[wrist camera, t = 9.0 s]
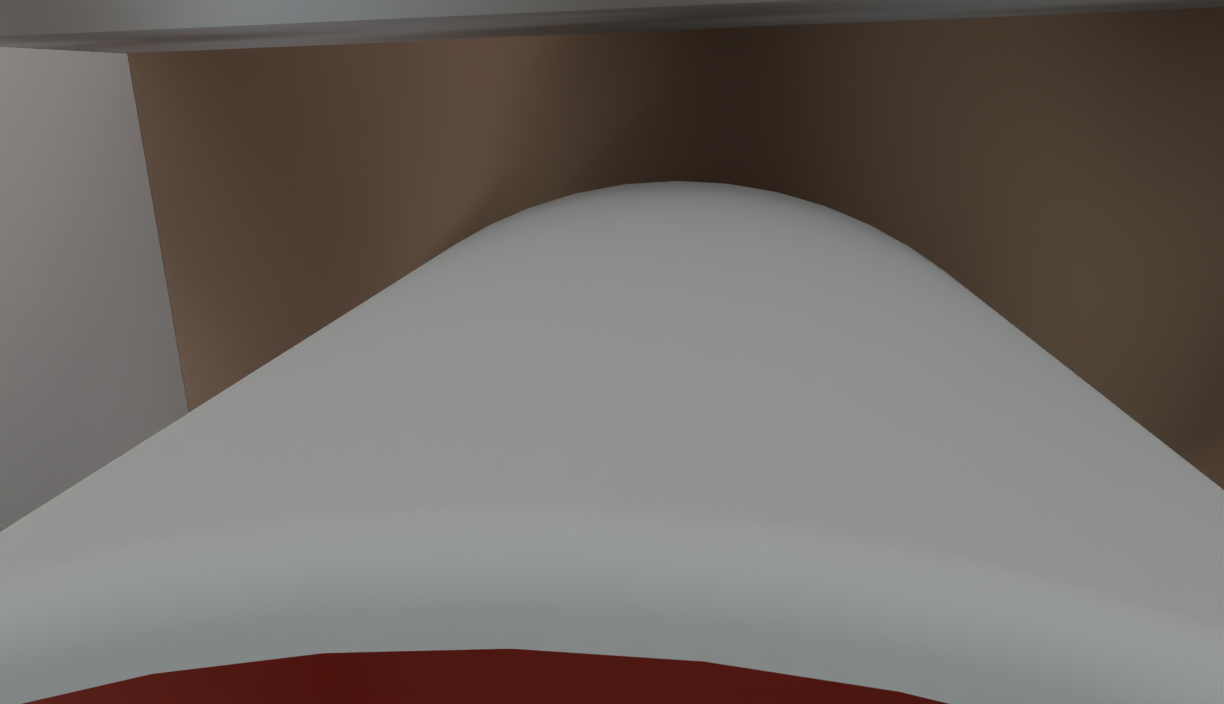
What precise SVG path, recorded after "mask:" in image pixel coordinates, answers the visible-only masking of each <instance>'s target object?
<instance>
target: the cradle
mask: <svg viewBox="0 0 1224 704" xmlns="http://www.w3.org/2000/svg"><path fill="white" fill-rule="evenodd" d="M0 47H16V48H35V49H54V50H73V51H92V52H111V53H127V55H128V61H129V67H130V72H131V78H132V84H133V90H134V96H135V101H136V107H137V113H138V119H139V125H140V131H141V136H142V142H143V148H144V154H145V160H146V165H147V171H148V177H149V183H150V189H151V195H152V200H153V206H154V212H155V218H156V224H157V229H158V235H159V241H160V247H161V253H162V259H163V264H164V270H165V276H166V282H167V288H168V293H169V299H170V305H171V311H172V317H173V323H174V328H175V334H176V340H177V346H178V352H179V357H180V363H181V369H182V375H183V381H184V387H185V392H186V398H187V404H188V410H189V412H191V411H192V410H194V409H196V408H197V407H199V406H200V405H202V404H203V403H205V402H207V401H208V400H210V399H211V398H213V397H215V396H216V395H218V394H219V393H221V392H222V391H224V390H226V389H227V388H229V387H230V386H232V385H234V384H235V383H237V382H238V381H240V380H241V379H243V378H245V377H246V376H248V375H249V374H251V373H253V372H254V371H256V370H257V369H259V368H260V367H262V366H264V365H265V364H267V363H268V362H270V361H272V360H273V359H275V358H276V357H278V356H279V355H281V354H283V353H284V352H286V351H287V350H289V349H291V348H292V347H294V346H295V345H297V344H298V343H300V342H302V341H303V340H305V339H306V338H308V337H310V336H311V335H313V334H314V333H316V332H317V331H319V330H321V329H322V328H324V327H325V326H327V325H329V324H330V323H332V322H333V321H335V320H336V319H338V318H340V317H341V316H343V315H344V314H346V313H348V312H349V311H351V310H352V309H354V308H355V307H357V306H359V305H360V304H362V303H363V302H365V301H367V300H368V299H370V298H371V297H373V296H374V295H376V294H378V293H379V292H381V291H382V290H384V289H386V288H387V287H389V286H390V285H392V284H393V283H395V282H397V281H398V280H400V279H401V278H403V277H405V276H406V275H408V274H409V273H411V272H412V271H414V270H416V269H417V268H419V267H420V266H422V265H424V264H425V263H427V262H428V261H430V260H431V259H433V258H435V257H436V256H438V255H439V254H441V253H443V252H444V251H446V250H447V249H449V248H450V247H452V246H454V245H455V244H457V243H459V242H461V241H462V240H464V239H466V238H468V237H469V236H471V235H473V234H475V233H476V232H478V231H480V230H482V229H483V228H485V227H487V226H489V225H491V224H493V223H495V222H498V221H500V220H502V219H505V218H507V217H509V216H511V215H514V214H516V213H518V212H521V211H523V210H525V209H528V208H530V207H534V206H537V205H540V204H543V203H546V202H550V201H553V200H556V199H559V198H562V197H566V196H569V195H572V194H575V193H581V192H586V191H591V190H597V189H602V188H608V187H613V186H618V185H624V184H637V183H653V182H668V181H687V182H705V183H723V184H732V185H738V186H744V187H750V188H756V189H762V190H767V191H773V192H778V193H782V194H785V195H789V196H792V197H796V198H799V199H803V200H806V201H809V202H813V203H816V204H819V205H823V206H826V207H828V208H831V209H833V210H836V211H838V212H841V213H843V214H845V215H848V216H850V217H852V218H855V219H857V220H859V221H862V222H864V223H866V224H869V225H871V226H873V227H875V228H876V229H878V230H880V231H882V232H884V233H885V234H887V235H889V236H891V237H892V238H894V239H896V240H898V241H900V242H901V243H903V244H905V245H907V246H909V247H910V248H912V249H913V250H915V251H916V252H918V253H919V254H920V255H922V256H923V257H925V258H926V259H928V260H929V261H931V262H932V263H934V264H935V265H936V266H938V267H939V268H941V269H942V270H944V271H945V272H946V273H947V274H949V275H950V276H951V277H952V278H954V279H955V280H956V281H958V282H959V283H960V284H961V285H963V286H964V287H965V288H967V289H968V290H969V291H970V292H972V293H973V294H974V295H975V296H977V297H978V298H979V299H981V300H982V301H983V302H984V303H986V304H987V305H988V306H989V307H991V308H992V309H993V310H995V311H996V312H997V313H998V314H1000V315H1001V316H1002V317H1004V318H1005V319H1006V320H1007V321H1009V322H1010V323H1011V324H1012V325H1014V326H1015V327H1016V328H1018V329H1019V330H1020V331H1021V332H1023V333H1024V334H1025V335H1027V336H1028V337H1029V338H1030V339H1032V340H1033V341H1034V342H1035V343H1037V344H1038V345H1039V346H1041V347H1042V348H1043V349H1044V350H1046V351H1047V352H1048V353H1049V354H1051V355H1052V356H1053V357H1055V358H1056V359H1057V360H1058V361H1060V362H1061V363H1062V364H1064V365H1065V366H1066V367H1067V368H1069V369H1070V370H1071V371H1072V372H1074V373H1075V374H1076V375H1078V376H1079V377H1080V378H1081V379H1083V380H1084V381H1085V382H1086V383H1088V384H1089V385H1090V386H1092V387H1093V388H1094V389H1095V390H1097V391H1098V392H1099V393H1101V394H1102V395H1103V396H1104V397H1106V398H1107V399H1108V400H1109V401H1111V402H1112V403H1113V404H1115V405H1116V406H1117V407H1118V408H1120V409H1121V410H1122V411H1123V412H1125V413H1126V414H1127V415H1129V416H1130V417H1131V418H1132V419H1134V420H1135V421H1136V422H1138V423H1139V424H1140V425H1141V426H1143V427H1144V428H1145V429H1146V430H1148V431H1149V432H1150V433H1152V434H1153V435H1154V436H1155V437H1157V438H1158V439H1159V440H1160V441H1162V442H1163V443H1164V444H1166V445H1167V446H1168V447H1169V448H1171V449H1172V450H1173V451H1175V452H1176V453H1177V454H1178V455H1180V456H1181V457H1182V458H1183V459H1185V460H1186V461H1187V462H1189V463H1190V464H1191V465H1192V466H1194V467H1195V468H1196V469H1197V470H1199V471H1200V472H1201V473H1203V474H1204V475H1205V476H1206V477H1208V478H1209V479H1210V480H1212V481H1213V482H1214V483H1215V484H1217V485H1218V486H1219V487H1220V488H1222V489H1223V490H1224V0H0Z"/></svg>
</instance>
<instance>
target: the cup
mask: <svg viewBox="0 0 1224 704" xmlns="http://www.w3.org/2000/svg"><path fill="white" fill-rule="evenodd" d="M0 704H1224V490H1223V489H1222V488H1220V487H1219V486H1218V485H1217V484H1215V483H1214V482H1213V481H1212V480H1210V479H1209V478H1208V477H1206V476H1205V475H1204V474H1203V473H1201V472H1200V471H1199V470H1197V469H1196V468H1195V467H1194V466H1192V465H1191V464H1190V463H1189V462H1187V461H1186V460H1185V459H1183V458H1182V457H1181V456H1180V455H1178V454H1177V453H1176V452H1175V451H1173V450H1172V449H1171V448H1169V447H1168V446H1167V445H1166V444H1164V443H1163V442H1162V441H1160V440H1159V439H1158V438H1157V437H1155V436H1154V435H1153V434H1152V433H1150V432H1149V431H1148V430H1146V429H1145V428H1144V427H1143V426H1141V425H1140V424H1139V423H1138V422H1136V421H1135V420H1134V419H1132V418H1131V417H1130V416H1129V415H1127V414H1126V413H1125V412H1123V411H1122V410H1121V409H1120V408H1118V407H1117V406H1116V405H1115V404H1113V403H1112V402H1111V401H1109V400H1108V399H1107V398H1106V397H1104V396H1103V395H1102V394H1101V393H1099V392H1098V391H1097V390H1095V389H1094V388H1093V387H1092V386H1090V385H1089V384H1088V383H1086V382H1085V381H1084V380H1083V379H1081V378H1080V377H1079V376H1078V375H1076V374H1075V373H1074V372H1072V371H1071V370H1070V369H1069V368H1067V367H1066V366H1065V365H1064V364H1062V363H1061V362H1060V361H1058V360H1057V359H1056V358H1055V357H1053V356H1052V355H1051V354H1049V353H1048V352H1047V351H1046V350H1044V349H1043V348H1042V347H1041V346H1039V345H1038V344H1037V343H1035V342H1034V341H1033V340H1032V339H1030V338H1029V337H1028V336H1027V335H1025V334H1024V333H1023V332H1021V331H1020V330H1019V329H1018V328H1016V327H1015V326H1014V325H1012V324H1011V323H1010V322H1009V321H1007V320H1006V319H1005V318H1004V317H1002V316H1001V315H1000V314H998V313H997V312H996V311H995V310H993V309H992V308H991V307H989V306H988V305H987V304H986V303H984V302H983V301H982V300H981V299H979V298H978V297H977V296H975V295H974V294H973V293H972V292H970V291H969V290H968V289H967V288H965V287H964V286H963V285H961V284H960V283H959V282H958V281H956V280H955V279H954V278H952V277H951V276H950V275H949V274H947V273H946V272H945V271H944V270H942V269H941V268H939V267H938V266H936V265H935V264H934V263H932V262H931V261H929V260H928V259H926V258H925V257H923V256H922V255H920V254H919V253H918V252H916V251H915V250H913V249H912V248H910V247H909V246H907V245H905V244H903V243H901V242H900V241H898V240H896V239H894V238H892V237H891V236H889V235H887V234H885V233H884V232H882V231H880V230H878V229H876V228H875V227H873V226H871V225H869V224H866V223H864V222H862V221H859V220H857V219H855V218H852V217H850V216H848V215H845V214H843V213H841V212H838V211H836V210H833V209H831V208H828V207H826V206H823V205H819V204H816V203H813V202H809V201H806V200H803V199H799V198H796V197H792V196H789V195H785V194H782V193H778V192H773V191H767V190H762V189H756V188H750V187H744V186H738V185H732V184H723V183H705V182H687V181H668V182H653V183H637V184H624V185H618V186H613V187H608V188H602V189H597V190H591V191H586V192H581V193H575V194H572V195H569V196H566V197H562V198H559V199H556V200H553V201H550V202H546V203H543V204H540V205H537V206H534V207H530V208H528V209H525V210H523V211H521V212H518V213H516V214H514V215H511V216H509V217H507V218H505V219H502V220H500V221H498V222H495V223H493V224H491V225H489V226H487V227H485V228H483V229H482V230H480V231H478V232H476V233H475V234H473V235H471V236H469V237H468V238H466V239H464V240H462V241H461V242H459V243H457V244H455V245H454V246H452V247H450V248H449V249H447V250H446V251H444V252H443V253H441V254H439V255H438V256H436V257H435V258H433V259H431V260H430V261H428V262H427V263H425V264H424V265H422V266H420V267H419V268H417V269H416V270H414V271H412V272H411V273H409V274H408V275H406V276H405V277H403V278H401V279H400V280H398V281H397V282H395V283H393V284H392V285H390V286H389V287H387V288H386V289H384V290H382V291H381V292H379V293H378V294H376V295H374V296H373V297H371V298H370V299H368V300H367V301H365V302H363V303H362V304H360V305H359V306H357V307H355V308H354V309H352V310H351V311H349V312H348V313H346V314H344V315H343V316H341V317H340V318H338V319H336V320H335V321H333V322H332V323H330V324H329V325H327V326H325V327H324V328H322V329H321V330H319V331H317V332H316V333H314V334H313V335H311V336H310V337H308V338H306V339H305V340H303V341H302V342H300V343H298V344H297V345H295V346H294V347H292V348H291V349H289V350H287V351H286V352H284V353H283V354H281V355H279V356H278V357H276V358H275V359H273V360H272V361H270V362H268V363H267V364H265V365H264V366H262V367H260V368H259V369H257V370H256V371H254V372H253V373H251V374H249V375H248V376H246V377H245V378H243V379H241V380H240V381H238V382H237V383H235V384H234V385H232V386H230V387H229V388H227V389H226V390H224V391H222V392H221V393H219V394H218V395H216V396H215V397H213V398H211V399H210V400H208V401H207V402H205V403H203V404H202V405H200V406H199V407H197V408H196V409H194V410H192V411H191V412H189V413H188V414H186V415H184V416H183V417H181V418H180V419H178V420H176V421H175V422H173V423H172V424H170V425H169V426H167V427H165V428H164V429H162V430H161V431H159V432H157V433H156V434H154V435H153V436H151V437H150V438H148V439H146V440H145V441H143V442H142V443H140V444H138V445H137V446H135V447H134V448H132V449H131V450H129V451H127V452H126V453H124V454H123V455H121V456H119V457H118V458H116V459H115V460H113V461H112V462H110V463H108V464H107V465H105V466H104V467H102V468H100V469H99V470H97V471H96V472H94V473H93V474H91V475H89V476H88V477H86V478H85V479H83V480H81V481H80V482H78V483H77V484H75V485H74V486H72V487H70V488H69V489H67V490H66V491H64V492H62V493H61V494H59V495H58V496H56V497H55V498H53V499H51V500H50V501H48V502H47V503H45V504H43V505H42V506H40V507H39V508H37V509H36V510H34V511H32V512H31V513H29V514H28V515H26V516H24V517H23V518H21V519H20V520H18V521H17V522H15V523H13V524H12V525H10V526H9V527H7V528H5V529H4V530H2V531H1V532H0Z"/></svg>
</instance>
